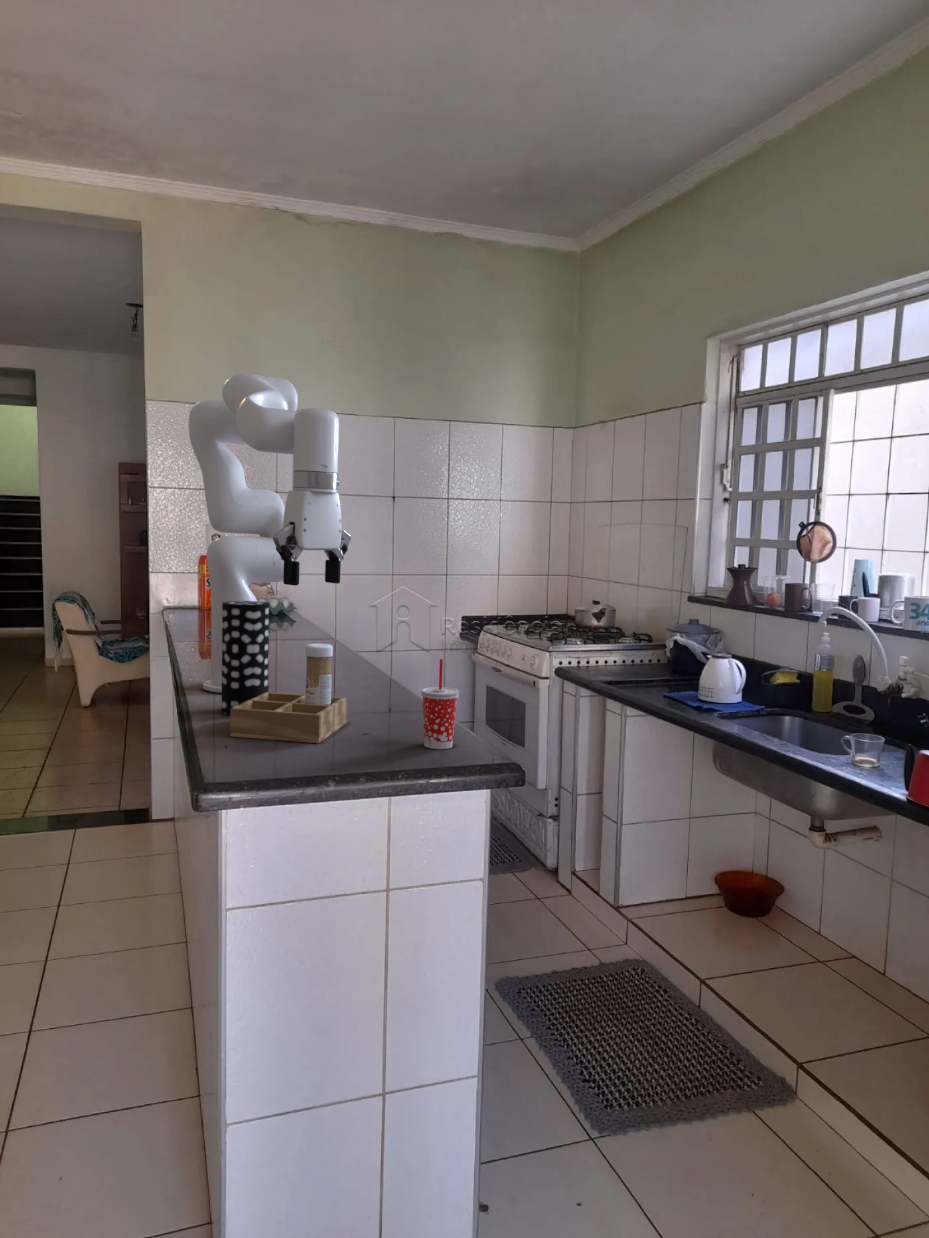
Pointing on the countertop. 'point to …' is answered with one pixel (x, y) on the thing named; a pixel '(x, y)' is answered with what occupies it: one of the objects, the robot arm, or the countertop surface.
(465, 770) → the countertop surface
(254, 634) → the spotted tube
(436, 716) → the beverage cup
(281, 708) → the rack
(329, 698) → the sprinkles bottle
